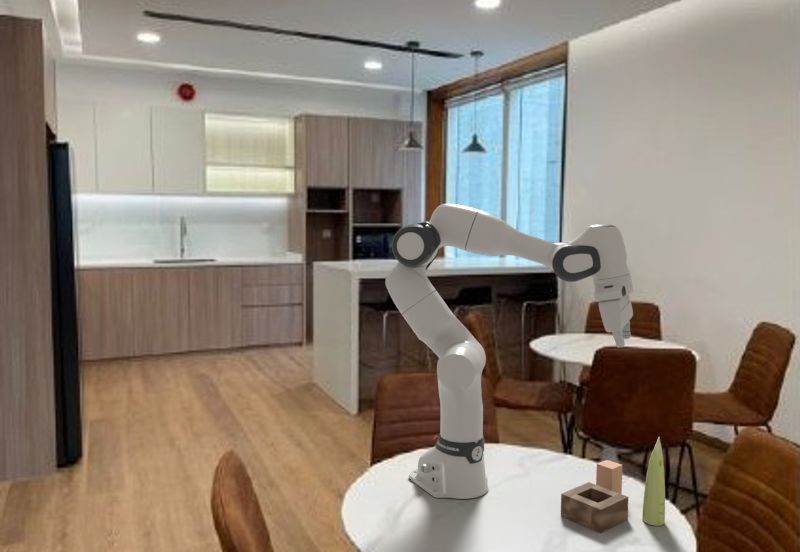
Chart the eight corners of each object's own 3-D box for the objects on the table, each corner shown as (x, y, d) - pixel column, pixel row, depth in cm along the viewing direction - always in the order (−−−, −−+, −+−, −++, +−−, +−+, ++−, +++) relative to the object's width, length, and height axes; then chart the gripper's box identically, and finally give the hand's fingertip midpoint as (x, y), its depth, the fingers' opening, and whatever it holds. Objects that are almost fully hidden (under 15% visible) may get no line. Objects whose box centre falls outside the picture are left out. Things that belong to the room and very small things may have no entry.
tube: (671, 526, 151) (674, 444, 150) (651, 528, 150) (654, 446, 149) (656, 515, 157) (659, 436, 155) (637, 517, 156) (640, 437, 154)
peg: (595, 498, 167) (596, 463, 166) (605, 493, 170) (607, 459, 169) (611, 504, 163) (612, 469, 162) (621, 499, 166) (622, 464, 165)
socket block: (560, 515, 157) (561, 493, 156) (588, 503, 164) (588, 482, 163) (600, 533, 148) (601, 509, 148) (627, 519, 155) (628, 496, 155)
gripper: (608, 283, 172) (618, 335, 173) (592, 296, 154) (603, 353, 155) (633, 280, 169) (643, 332, 170) (619, 292, 151) (630, 350, 152)
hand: (624, 342), depth 162 cm, fingers open, 8 cm apart
